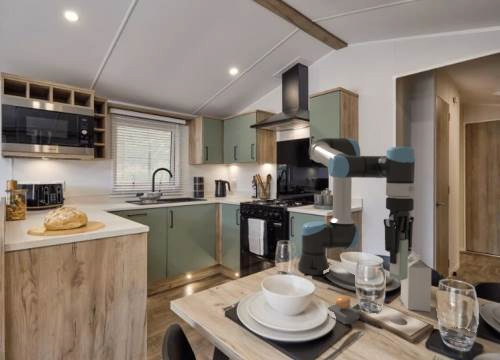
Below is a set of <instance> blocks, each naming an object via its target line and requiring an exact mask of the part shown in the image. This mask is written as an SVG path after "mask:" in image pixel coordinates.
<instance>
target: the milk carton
mask: <svg viewBox="0 0 500 360" xmlns="http://www.w3.org/2000/svg"><path fill="white" fill-rule="evenodd" d="M421 258H422V257H421V255H419V254H418V253H417V252H415V251H414V250H411V253H410V254H408V277H407V279H404V280H402V281H401V280H400V301H401V302H402V304H403V305H404V307H405V308H406V309H407V310H410V311H419V312H420V311H421V312H430V313H431V312H432V310H431V309H432V307H431V306H432V302H431V301H432V268H431V266H429V265H428V264H427V263H425V262H424V261H423V260H422V259H421Z"/></svg>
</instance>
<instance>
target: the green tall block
mask: <svg viewBox="0 0 500 360" xmlns="http://www.w3.org/2000/svg"><path fill="white" fill-rule="evenodd" d="M398 253H400V275H396V274H393V273H390V272H389V278H392V279H395V280H398V281H400V282H401V281H402V280H404V279H407V277H408V256H409V251H408V239H405V233H403V232H401V233H400V242H399V250H398Z"/></svg>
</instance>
